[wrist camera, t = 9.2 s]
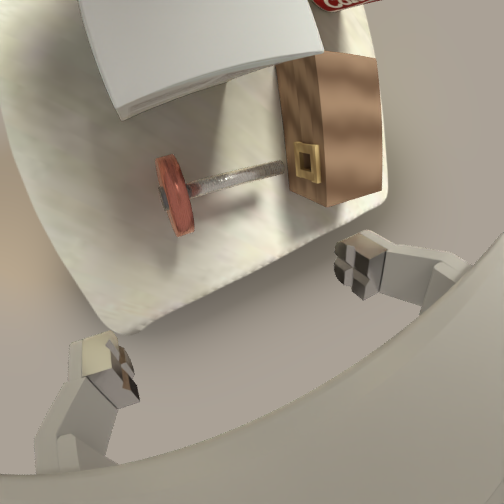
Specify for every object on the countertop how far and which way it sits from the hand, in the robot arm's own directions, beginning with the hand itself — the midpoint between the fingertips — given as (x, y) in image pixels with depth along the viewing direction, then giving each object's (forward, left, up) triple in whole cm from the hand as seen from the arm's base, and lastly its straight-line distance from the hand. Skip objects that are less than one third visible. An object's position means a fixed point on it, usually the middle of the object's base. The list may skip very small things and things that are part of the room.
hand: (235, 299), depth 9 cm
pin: (+2, +7, -24) cm, 25 cm away
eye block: (-2, +22, -25) cm, 33 cm away
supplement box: (-14, +3, -25) cm, 29 cm away
